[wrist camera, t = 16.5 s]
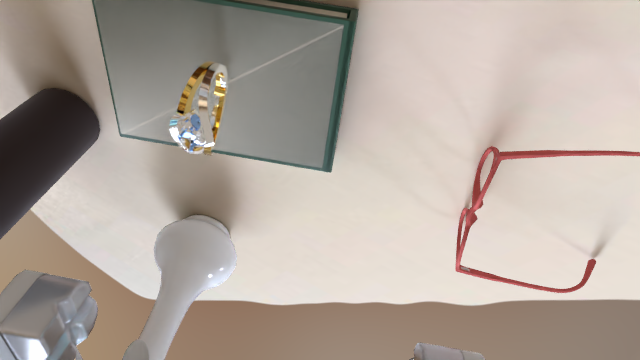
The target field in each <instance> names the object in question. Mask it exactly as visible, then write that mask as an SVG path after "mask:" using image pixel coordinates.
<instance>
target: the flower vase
mask: <svg viewBox="0 0 640 360" xmlns="http://www.w3.org/2000/svg"><path fill="white" fill-rule="evenodd" d="M154 258H155V262H156V265H157V267H158V269H159V271H160V273H161V285H160V290H159V294H158V297H157V299H156V302H155V304H154V307H153V309H152V311H151V313H150V315H149V317H148V319H147V322H146V324H145V326H144V328H143V330H142V332H141V334H140V336H139V338H138V340H135V341H134V342H132V343H131V344H130V345H129V346H128V348H127V350H126V351H125V354H124V356H123V359H122V360H165V358H166V354H167V352H168V349H169V347H170V344H171V342H172V340H173V338H174V335H175V334H176V332H177V330H178V328H179V326H180V323H181V321H182V319H183V317H184V315H185V313H186V312H187V310H188V308H189V307H190V305H191V304H192V302H193V301H194V300H195V299H196V297H197V296H198V295H199V294H201V293H202V292H203V291H205V290H208V289H211V288H214V287H216V286H218V285H220V284H221V283H223V282H224V281H225V280H226V279H228V278H229V276H230V275H231V274H232V272H233V270H234V268H235V266H236V261H237V254H236V250H235V247H234V244H233V243H232V241H231V239H230V235H229V232H228V230H227V229H226V227H225V226H224V225H223V224H222V223H220V222H219V221H217V220H216V219H213V218H211V217H208V216H204V215H194V216H189V217H187V218H185V219H184V220H179V221H175V222H173V223H171V224H169V225H167V226H165V227H164V228H163V229H162V230H161V231H160V232H159V234H158V236H157V238H156V241H155V245H154ZM76 350H77V355H76V360H83V359H82V357H81V355H80V353H79V351H78V349H77V347H76Z"/></svg>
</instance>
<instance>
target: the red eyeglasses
mask: <svg viewBox="0 0 640 360" xmlns="http://www.w3.org/2000/svg"><path fill="white" fill-rule="evenodd" d="M491 151H493V153H494V159H493V164H492V167H491V170H490V173H489V175H488V178H487V180H486V182H485V184H484V187H483V189H482V191H480V173H481V169H482V166H483V163H484V161H485V159H486V157H487V156H488V154H489V153H490V152H491ZM594 155H620V156H640V152H627V151H557V150H541V151H514V152H500V153H499V150H498V149H497V148H496V147H493V146H491V147H489V148H488V149H487V150H486V151H485V153H484V154H483V156H482V158H481V160H480V163H479V165H478V168H477V172H476V176H475V181H474V187H473V195H472V207H471V208H470V210H469V209H467V208H464V209H463V211H462V213H461V217H460V221H459V227H458V236H457V251H456V271H457V272H460V273H464V274H468V275H472V276H476V277H480V278H484V279H488V280H493V281H499V282H504V283H509V284H514V285H518V286H523V287H528V288H533V289H538V290H544V291H550V292H557V293H567V292H572V291H575V290H578V289H580V288H581V287H583V286H584V285H585V283H586V282H587V280H588V278H589V277H590V275H591V272H592V270H593V268H594V266H595V264H596V260H594V259H591V260H589V261H588V264H587V267H586V271H585V274H584V277H583V279H582V281H581V282H580V283H579V284H578V285H576V286H574V287H572V288H568V289H555V288H548V287H543V286H538V285H533V284H528V283H524V282H519V281H515V280H511V279H507V278H503V277H499V276H496V275H493V274H489V273H486V272H482V271H478V270H475V269H471V268H467V267H464V266H462V265H460V261H461V257H462V253H463V250H464V246H465V243H466V240H467V236H468V232H469V229H470V227H471V225H472V224H473V223H474V222H475V221H476V220H477V216H476V215H475V213H474V212H475V211H476V210H477V209H479V208H481V207H482V205H483V200H482V199H483V197H484V195H485V193H486V191H487V189H488V187H489V185H490V183H491V180H492V178H493V176H494V174H495V172H496V170H497V168H498V166H499V164H500V162H501V160H505V159H518V158H537V157H556V156H594ZM465 214H467V215H466V226H465V231H464V235H463V239H462V242H461V246H460V241H461V231H462V224H463V219H464V216H465Z"/></svg>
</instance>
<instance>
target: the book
mask: <svg viewBox="0 0 640 360" xmlns="http://www.w3.org/2000/svg"><path fill="white" fill-rule="evenodd" d="M92 2H93V7H94V12H95V17H96V22H97V27H98V32H99V36H100V41H101V46H102V51H103V56H104V61H105V66H106V70H107V75H108V80H109V85H110V90H111V95H112V100H113V105H114V109H115V114H116V119H117V124H118V129H119V134H120V136H121V137H127V138H133V139H138V140H144V141H150V142H156V143H162V144H167V145H173V146H179V145H178V144H177V142H176V141H175V140H174V138H173V136H172V134H171V132H170V120H171V118H172V117H173V116H174V115H175V114H176V112H177V108H178V104H179V101H180V98H181V95H182V93H183V90H184V88H185V86H186V84H187V82H188V80H189V79H190V77H191V76H192V74H193V73H194V72H195V70H196V69H197V68H198V67H199V66H201V65H202V64H203V63H205V62H208V61H212V62H216V63H219V64H221V65H224V66H225V67H226V69H227V76H228V83H227V85H228V92H227V94H226V99H225V105H224V110H223V115H222V120H221V124H220V129H219V133H218V137H217V140H216V144H215V147H214V151H213V152H214V153H220V154H226V155H231V156H237V157H243V158H249V159H255V160H260V161H266V162H272V163H278V164H284V165H290V166H295V167H301V168H307V169H313V170H319V171H324V172H330V173H331V171H332V165H333V160H334V154H335V148H336V142H337V137H338V131H339V125H340V119H341V113H342V107H343V101H344V95H345V89H346V83H347V77H348V71H349V65H350V59H351V53H352V47H353V41H354V35H355V29H356V23H357V17H358V11H359V9H355V8H348V7H342V6H336V5H330V4H324V3H317V2H311V1H305V0H92ZM201 83H202V82H201ZM201 83H200V85H199V86H198V88H197V90H196V93H195V95H194V98H193V101H192V105H191V110H193V109H196V110H197V111H198V113H199V105H198V101H199V91H200V87H201ZM215 86H216V77H214V79H213V81H212V83H211V86H210V89H209V93H208V101H207V106H208V115H209V120H210V119H211V115H212V111H213V106H214V101H215V95H214V89H215ZM181 125H182V121H181ZM201 131H203V128H202V130H201ZM203 134H204V131H203ZM204 135H205V134H204ZM187 139H188V140H189V141H190V143H191V139H192V138H187ZM179 147H180V146H179Z"/></svg>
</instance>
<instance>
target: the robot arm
mask: <svg viewBox="0 0 640 360" xmlns="http://www.w3.org/2000/svg"><path fill="white" fill-rule="evenodd" d="M91 290H92V289H91V287H90V284H89V282H87V281H82V280H77V279H71V278H66V277H61V276H55V275H50V274H47V273H41V272H35V271H29V270H24V271H22V272H21V273H19V274H17V275H16V276H15V277H14V279H13V280H12V281H11V282H10V283H9V284H8V286H7V287H6V288H5V289H4V290H3V291H2V292H1V294H0V360H74V359H75V357H76V355H77V350H76V345H77V344H78V343H80V342H82V341H83V340H85V339H86V338H87V337H88V336H89V334H90V332H91V331H92V329H93V327H94V324H95V321H96V318H97V312H98V311H97V310H98V308H97V304H96V301H95V300H94V299H93V298H92V297H90V296H89V294H90V292H91ZM410 360H485V358H484V357H483V355H482V354H480V353H475V352H470V351H464V350H459V349H455V348H449V347H443V346H437V345H431V344H425V343H418V344H417V345H416V347H415V349H414V358H411V359H410Z"/></svg>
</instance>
